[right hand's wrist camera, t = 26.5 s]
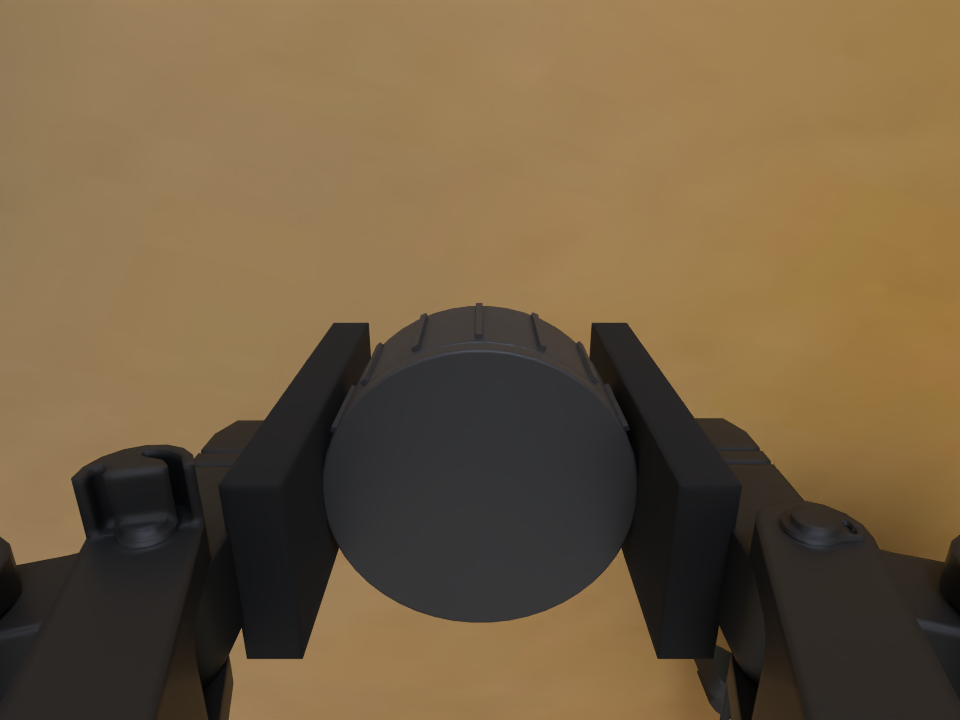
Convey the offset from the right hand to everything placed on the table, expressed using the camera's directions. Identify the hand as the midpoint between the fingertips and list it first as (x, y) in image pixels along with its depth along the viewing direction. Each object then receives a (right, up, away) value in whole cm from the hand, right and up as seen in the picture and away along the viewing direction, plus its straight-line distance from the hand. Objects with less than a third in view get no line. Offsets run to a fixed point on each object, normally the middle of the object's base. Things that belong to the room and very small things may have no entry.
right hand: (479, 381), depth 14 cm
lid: (0, -2, -4) cm, 4 cm away
